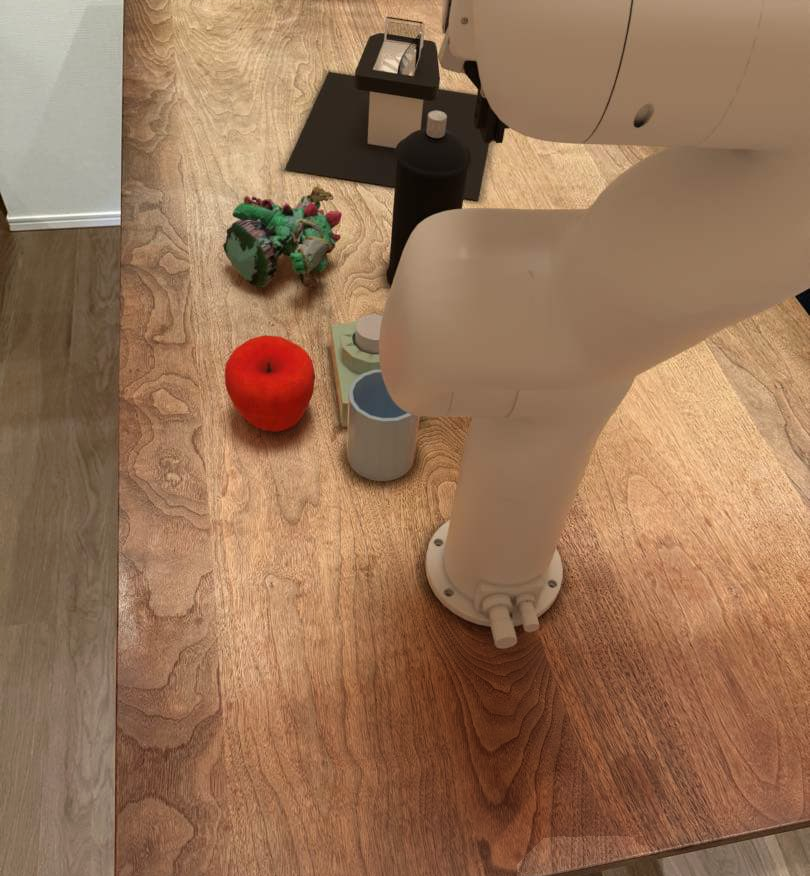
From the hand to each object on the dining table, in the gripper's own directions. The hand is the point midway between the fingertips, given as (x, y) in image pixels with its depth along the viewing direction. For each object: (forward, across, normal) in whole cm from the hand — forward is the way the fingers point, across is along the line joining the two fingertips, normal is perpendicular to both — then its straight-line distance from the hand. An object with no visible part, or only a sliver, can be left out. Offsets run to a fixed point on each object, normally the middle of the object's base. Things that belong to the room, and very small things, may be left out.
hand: (489, 134), depth 78 cm
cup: (+25, +10, +15) cm, 31 cm away
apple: (+25, +21, +9) cm, 34 cm away
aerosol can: (+25, +2, -13) cm, 29 cm away
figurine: (+25, +17, -16) cm, 34 cm away
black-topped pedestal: (+25, 0, -46) cm, 52 cm away
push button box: (+25, +10, +5) cm, 27 cm away
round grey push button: (+20, +10, +4) cm, 23 cm away
